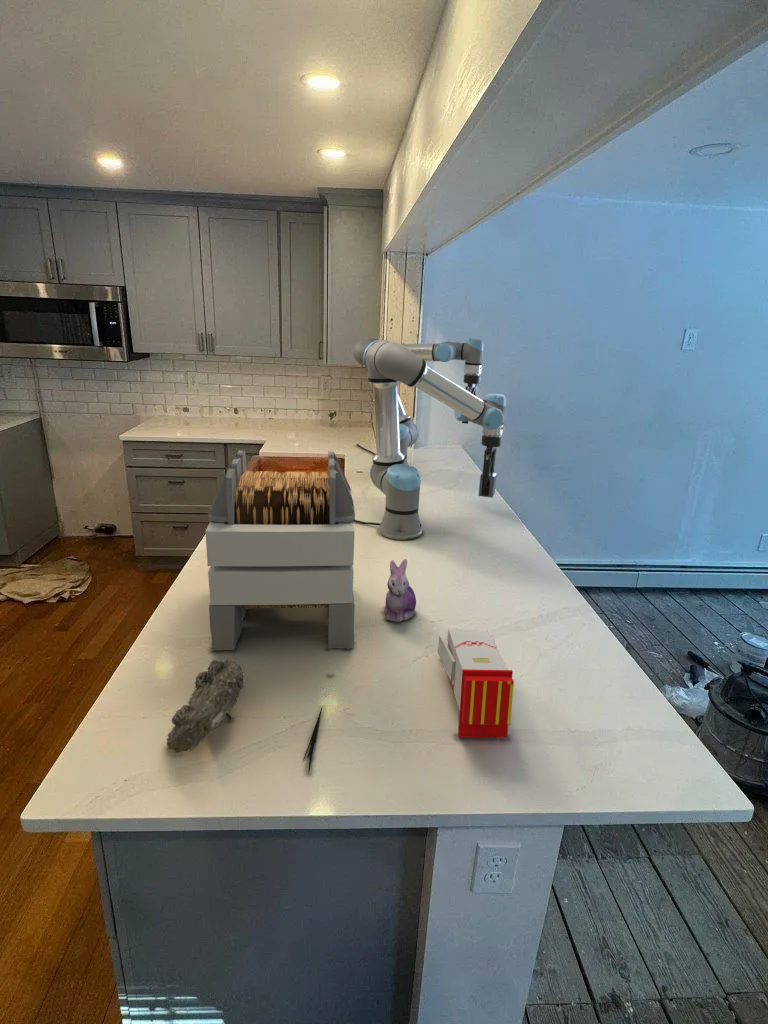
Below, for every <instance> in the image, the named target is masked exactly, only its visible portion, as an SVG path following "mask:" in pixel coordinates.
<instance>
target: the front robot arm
mask: <svg viewBox="0 0 768 1024" xmlns="http://www.w3.org/2000/svg"><path fill="white" fill-rule="evenodd" d="M402 344H403V343H400V342H396V341H392V340H388V339H378V340H377V341H374V342H372V343H370V344H369V345H368V347H367V348H366V349H365V352H364V355H363V361H364V365H363V366H364V367H365V370H366V369H367V370H368V372H367V380H368V381H367V382H368V383H369V384H370V386H372V393H373V412H374V413H373V415H374V430H375V455H374V454H373V456H372V464H371V467H370V469H369V477H370V480H371V482H372V483H373V485H374V487H375V488H376V489H378V490H379V491H380V492H381V493H383V495H385V504H384V505H385V507H384V508H385V509H384V513H383V515H382V519H381V522H373V521H371V522H370V521H361V520H358V519H355V520H354V521H353V523H356V524H361V525H367V526H368V525H369V526H378V533H379V534H380V535H381V536H382V537H385V538H387V539H389V540H395V541H410V540H415V539H418V538H420V537H421V536H422V535H423V525H422V523H421V518H420V515H419V507H420V506H419V505H420V496H421V495H420V494H421V493H420V492H421V483H422V480H421V472H420V471H419V469H418V468H416V467H414V466H412V465H409V464H408V465H405V456H404V455H403V454H402V453H401V452H400V434H399V407H398V395H399V388H398V387H399V385H400V383H402V384H403V385H406V386H407V387H408V388H413V387H415V388H417V389H418V390H420V391H421V392H424V393H425V394H427V395H429V396H431V397H432V398H434V399H436V400H437V401H439V402H440V403H442V404H444V405H445V406H447V407H450V409H453V413H454V414H453V415H454V417H455V419H456V420H457V421H459V422H462V421H468V422H470V423H473V424H475V425H479V426H480V427H482V431H481V433H482V435H481V440H480V441H481V446H483V447H485V450H484V453H483V466H482V472H483V475H482V478H481V479H483V483H482V493H481V495H484V496H489V486H490V473H495V465H496V456H497V455H496V454H497V450H498V449H497V448H499V447H501V446H502V443H503V442H502V440H503V437H502V435H503V431H504V430H505V427H504V420H505V413H506V403H507V401H506V400H507V399H506V396H505V395H504V394H502V393H493V392H492V393H491V392H490V393H487V394H486V395H485V398H484V399H481V398H479V397H478V396H477V397H476V396H474V395H473V394H471V393H470V392H468V391H466V390H465V389H466V388H464V387H462V386H460V385H459V384H457V383H455V382H453V381H452V380H450V379H449V378H447V377H446V376H445V375H442V374H441V373H439V372H438V371H436V370H434V369H433V368H431V367H429V366H428V364H427V361H425V360H423V359H421V358H420V357H418V356H417V355H416V354H414V353H413V352H412V351H410V350H409V349H408V348H406V347H405V346H403V345H402ZM367 370H366V371H367Z"/></svg>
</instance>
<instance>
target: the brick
mask: <svg viewBox="0 0 768 1024" xmlns="http://www.w3.org/2000/svg"><path fill="white" fill-rule="evenodd" d="M482 475H483V471H482V472H481V474H480V475H479V485H478V486H479V488H478V497H483V498H490V499H493V498H494V496H495V493H496V484H497V475H498V473H496V472H493V473H490V486H489V496H484V495H481V493H482V483H483V479H481V478H482Z"/></svg>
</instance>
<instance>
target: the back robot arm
mask: <svg viewBox="0 0 768 1024" xmlns="http://www.w3.org/2000/svg"><path fill="white" fill-rule="evenodd" d="M377 340H379V339H378V338H370V339H362V340H360V341H358V342H357V343H356V344H355V346H354V347H353V353H352V354H353V358H354V360H355V361H356V363H358V364H359V365H361V366H365V365H364V361H363V355H364V352H365V349H366V348H367V347H368V345H369V344H370V343H372V342H374V341H377ZM484 343H485V342H484V340H483V339H481V338H467V340H466V342H454V341H441V343H401V344H402V345H403V346H405V347H406V348H408V349H409V350H410V351H412V352H413V353H414V354H416V355H417V356H418V357H420V358H421V359H423V360H425V361H426V362H441V363H448V362H450V361H453V360H455V361H456V360H457V361H465V362H464V370H463V371H464V374H463V384H467V385H465V388H464V389H465V390H466V391H468V392H470V393H471V394H473V395H474V396H476V397H478V396H477V393H478V391H477V389H478V388H477V387H478V385H479V384H480V383H481V378H482V377H481V374H482V370H483V367H482V366H483V356H484ZM365 370H366V373H368V370H367V369H366V368H365ZM398 407H399V434H400V452H401V453H402V454H403V455H404V456H405V465H409V463H408V449H409V447H411V446H413V445H414V444H415V443H416V442H417V440H419V439H418V438H419V436H420V435H419V434H420V432H419V431H420V430H419V428H418V426H417V425H416V424H415V423H414V422H413V420H412V417H411V416H410V415H408V414H406V411H405V408H404V405H403V403H402V400H401V398H400V395H399V394H398ZM461 423H462V424H467V425H468V424H469V421H461ZM356 446H357V447H359V448H360V449H361V450H364V451H365V452H368V453H370V454H372V455H373V456H374V455H375V454H376V452H374V451H371V450H368V449H367V448H365V447H363V446H362V445H360V444H359V443H356Z"/></svg>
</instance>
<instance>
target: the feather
mask: <svg viewBox="0 0 768 1024" xmlns="http://www.w3.org/2000/svg"><path fill="white" fill-rule="evenodd" d="M329 675H330V676H331V675H332V674H331V673H330V674H329ZM322 710H323V707H321V708H320V710H319V713H318V716H317V719H316V723H315V725H314V728H313V731H312V733H311V737H310V739H309V742H308V745H307V748H306V751H305V754H304V757H303V760H302V763H301V767H302V765H303V763H304V761H305V758H308V759H309V760H308V762H307V763H308V764H307V766H308V771H310V770H311V766H312V765H311V764H312V760H313V757H315V756H314V755H315V751H316V749H315V746H317V739H318V733H319V729H320V722H321V717H322V712H323V711H322ZM313 754H314V755H313ZM306 755H307V757H306Z"/></svg>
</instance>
